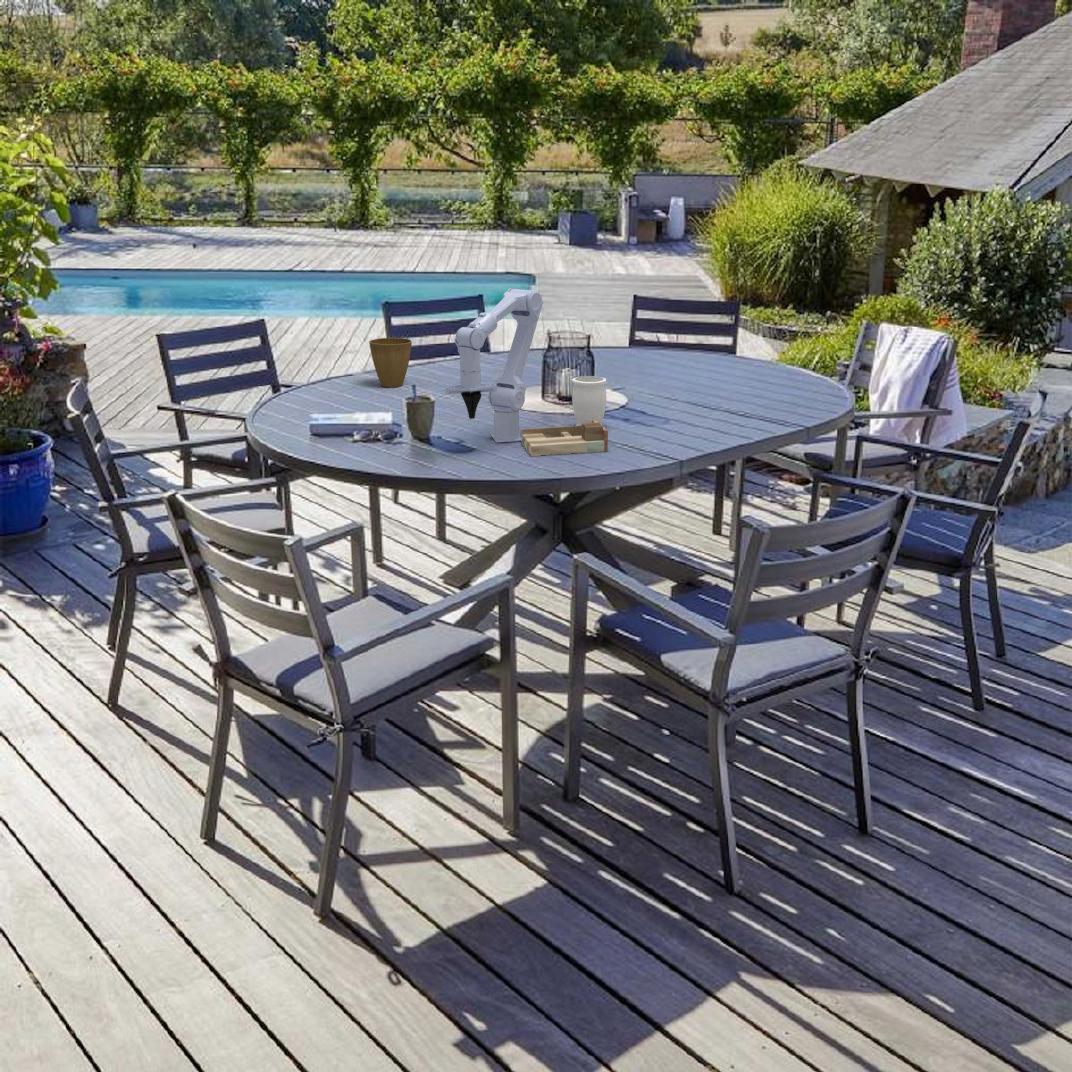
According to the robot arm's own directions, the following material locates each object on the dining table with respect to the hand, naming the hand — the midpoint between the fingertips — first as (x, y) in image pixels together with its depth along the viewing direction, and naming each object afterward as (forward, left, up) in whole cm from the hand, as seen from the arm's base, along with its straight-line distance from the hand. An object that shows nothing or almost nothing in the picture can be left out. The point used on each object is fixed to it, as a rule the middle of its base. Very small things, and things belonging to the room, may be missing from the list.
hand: (471, 417), depth 356 cm
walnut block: (+7, +34, -6) cm, 35 cm away
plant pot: (-96, -13, -10) cm, 97 cm away
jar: (-18, +39, -10) cm, 44 cm away
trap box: (+4, +26, -9) cm, 28 cm away
